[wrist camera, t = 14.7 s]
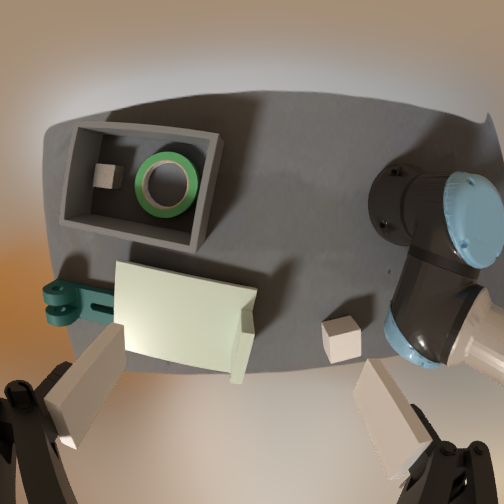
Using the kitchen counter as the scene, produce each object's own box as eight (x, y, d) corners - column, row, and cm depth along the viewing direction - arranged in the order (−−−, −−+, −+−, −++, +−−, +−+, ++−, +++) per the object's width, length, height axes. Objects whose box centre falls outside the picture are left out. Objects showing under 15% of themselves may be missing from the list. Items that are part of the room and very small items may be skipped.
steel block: (124, 166, 45) (115, 165, 41) (121, 188, 46) (111, 188, 42) (106, 164, 45) (95, 163, 41) (103, 186, 46) (92, 186, 42)
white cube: (350, 314, 52) (360, 329, 46) (351, 340, 53) (361, 355, 47) (321, 322, 52) (329, 337, 46) (323, 347, 53) (330, 363, 48)
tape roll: (136, 212, 47) (131, 214, 45) (144, 151, 45) (138, 149, 42) (196, 220, 48) (193, 222, 45) (205, 156, 45) (202, 154, 43)
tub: (224, 143, 44) (218, 133, 36) (204, 241, 48) (195, 253, 39) (100, 129, 43) (75, 121, 34) (85, 217, 47) (59, 224, 38)
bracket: (60, 307, 51) (41, 321, 43) (57, 278, 50) (36, 290, 42) (129, 323, 52) (114, 342, 44) (128, 293, 50) (111, 309, 43)
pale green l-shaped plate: (256, 285, 50) (261, 310, 40) (236, 365, 54) (236, 400, 44) (122, 257, 48) (96, 274, 37) (118, 339, 52) (98, 368, 41)
